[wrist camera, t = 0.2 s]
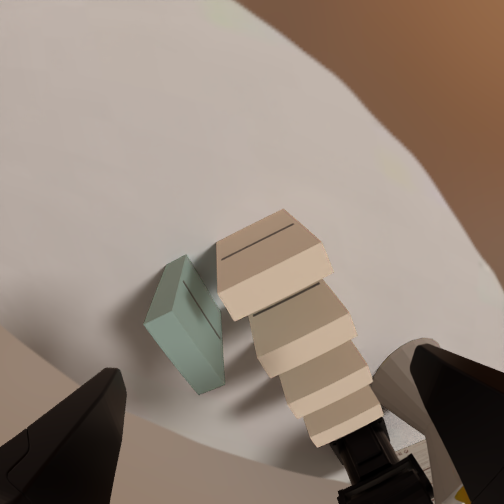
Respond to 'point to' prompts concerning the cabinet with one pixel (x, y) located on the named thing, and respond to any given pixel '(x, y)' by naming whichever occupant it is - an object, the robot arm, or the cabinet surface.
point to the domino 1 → (188, 326)
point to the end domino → (343, 416)
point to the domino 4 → (325, 379)
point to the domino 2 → (268, 263)
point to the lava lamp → (418, 419)
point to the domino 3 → (300, 328)
